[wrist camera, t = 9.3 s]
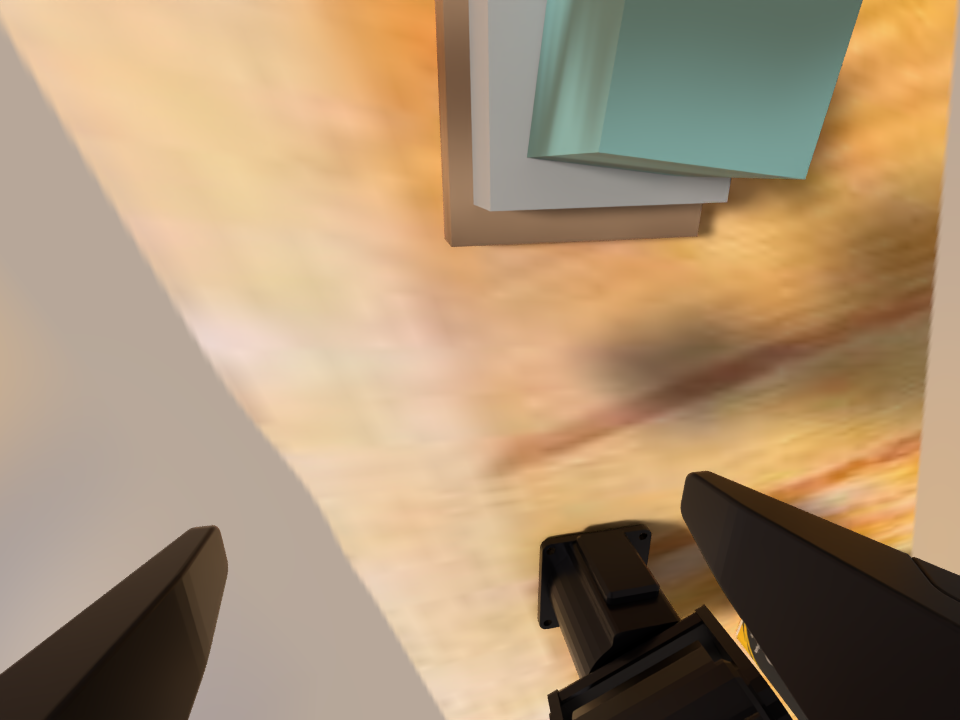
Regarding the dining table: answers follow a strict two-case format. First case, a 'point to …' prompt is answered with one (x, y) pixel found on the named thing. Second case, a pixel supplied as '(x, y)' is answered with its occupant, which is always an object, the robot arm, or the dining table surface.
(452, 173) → the walnut slab
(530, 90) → the grey slab
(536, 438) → the dining table surface
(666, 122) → the teal block
